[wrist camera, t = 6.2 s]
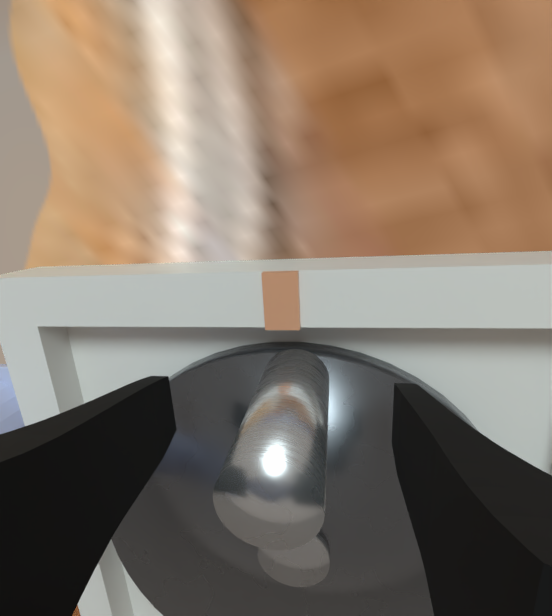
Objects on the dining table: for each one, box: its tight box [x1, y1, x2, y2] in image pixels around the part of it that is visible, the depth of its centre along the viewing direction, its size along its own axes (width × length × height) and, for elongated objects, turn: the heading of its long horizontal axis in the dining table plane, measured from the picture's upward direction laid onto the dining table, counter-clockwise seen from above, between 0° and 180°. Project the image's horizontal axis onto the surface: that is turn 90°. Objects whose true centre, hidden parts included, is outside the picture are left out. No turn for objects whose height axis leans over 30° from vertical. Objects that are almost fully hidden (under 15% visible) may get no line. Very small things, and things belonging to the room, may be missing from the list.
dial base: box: [0, 251, 552, 616], centre depth 16 cm, size 24×24×3 cm
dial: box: [111, 342, 479, 616], centre depth 13 cm, size 18×18×7 cm
